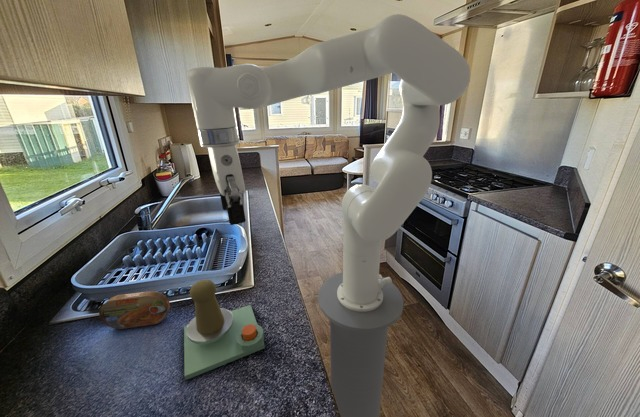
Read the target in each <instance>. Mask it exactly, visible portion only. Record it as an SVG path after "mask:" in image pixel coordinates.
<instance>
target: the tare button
mask: <svg viewBox="0 0 640 417" xmlns="http://www.w3.org/2000/svg"><path fill="white" fill-rule="evenodd" d="M242 335H243V339H244V340H245V341H251V340H253V339H254V338H255V337H256V335H257V332H256V327H255V326H254V325H252V324H249V325H246V326H245V327H244V328H243V329H242Z"/></svg>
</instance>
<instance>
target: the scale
mask: <svg viewBox="0 0 640 417" xmlns="http://www.w3.org/2000/svg"><path fill="white" fill-rule="evenodd" d="M253 310H254V309H253V308H252V305H251V304H248V305H245V306H242V307H239V308H235V309H233V310H229V311H230V312H231V313H232V315H233V320H234V321H233V326H232V328H231V329H230V331H229V332H228V333H227V334H226V335H225V336H224V337H222V338H221V339H219V340H217V341H215V342H212V343H209V344H195V343H193V342H191V341H190V340H189V338H188V336H187V327H188V325H189V324H187V325H184V326H183V356H184V357H183V359H184V360H183V362H184V364H183V367H184V370H183V371H184V372H183V373H184V375H183V376H184V379H185V381H188V380H190V379H193V378H195V377H197V376H200V375H202V374H204V373H207V372H210V371H212V370H214V369H217V368H219V367H222V366H224V365H228V364H229V363H232V362H234V361H237V360H239V359H242V358H244V357H247V356H249V355H251V354H254V353H256V352H259V351H261V350H263V349H265V348H266V346H265V342H264V340H265V332H264V329H263V327H262V326H261V325H259V324H258V322H257V319H256V316H255V313H254V311H253ZM249 324H252V325H254V326H255V327H256V332H257V335H256V337H255V338H254V339H253V340H251V341H245V340H244V339H243V335H242V329H243V328H244V327H245V326H246V325H249Z"/></svg>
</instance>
